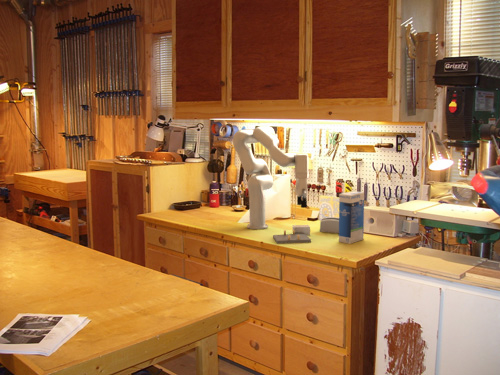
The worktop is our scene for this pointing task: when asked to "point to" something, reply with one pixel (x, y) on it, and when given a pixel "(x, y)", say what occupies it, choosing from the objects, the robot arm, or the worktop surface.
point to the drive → (302, 229)
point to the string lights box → (351, 217)
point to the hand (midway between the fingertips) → (302, 206)
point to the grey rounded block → (330, 224)
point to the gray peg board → (291, 238)
